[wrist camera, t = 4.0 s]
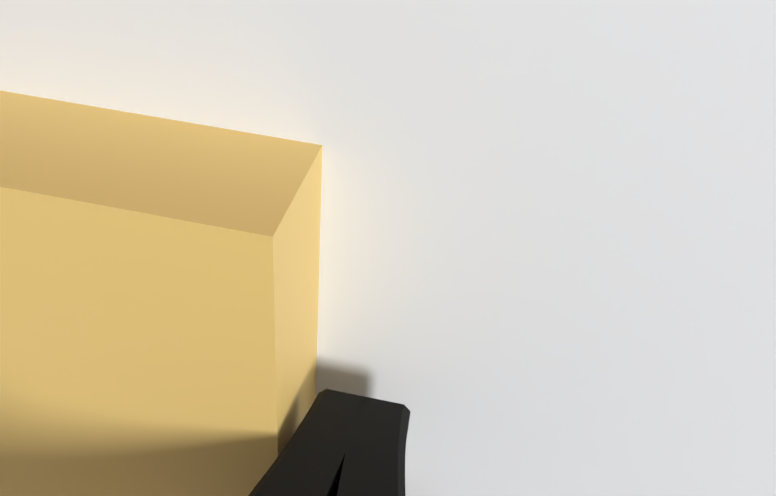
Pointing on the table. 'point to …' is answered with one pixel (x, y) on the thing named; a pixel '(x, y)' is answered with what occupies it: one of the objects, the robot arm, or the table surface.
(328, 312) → the white box
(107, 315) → the yellow rectangular block
